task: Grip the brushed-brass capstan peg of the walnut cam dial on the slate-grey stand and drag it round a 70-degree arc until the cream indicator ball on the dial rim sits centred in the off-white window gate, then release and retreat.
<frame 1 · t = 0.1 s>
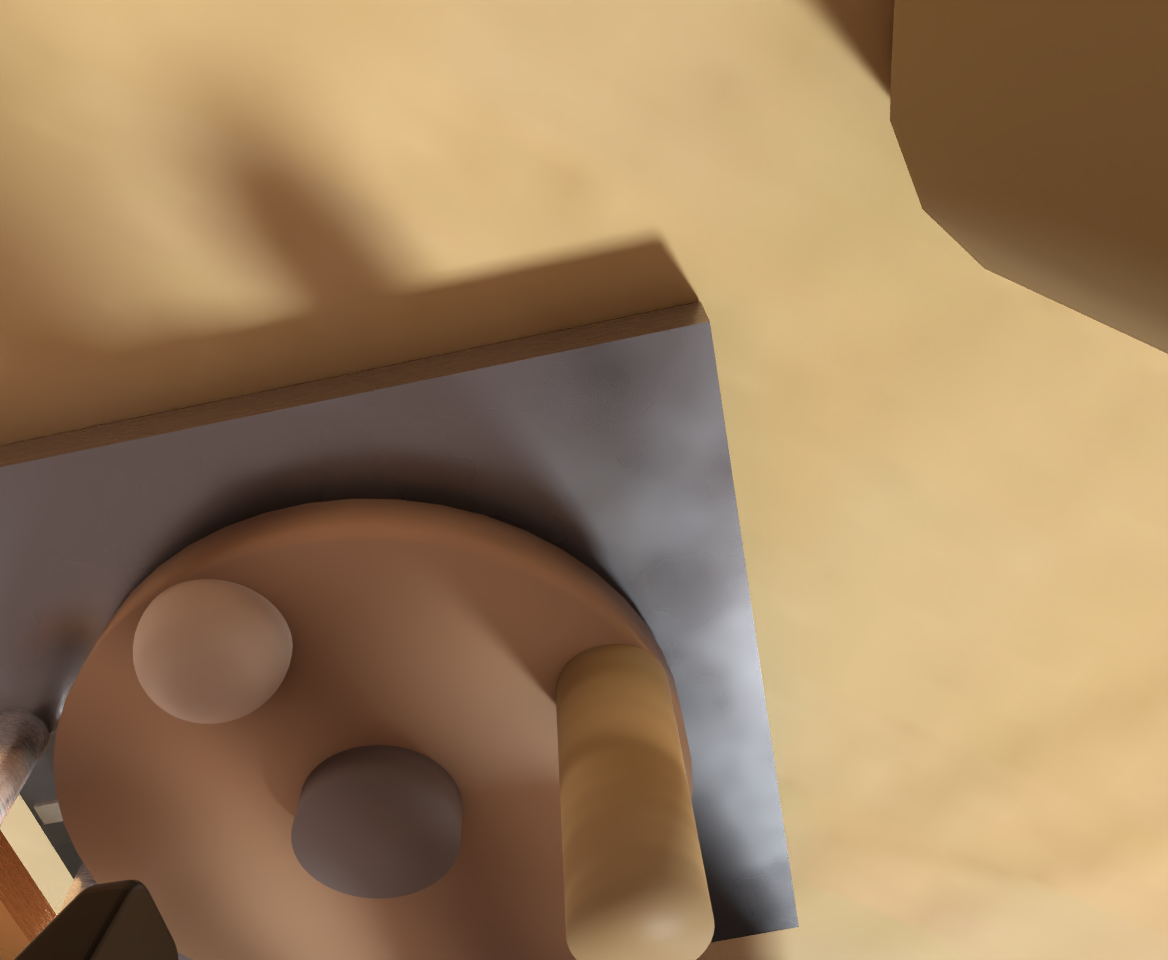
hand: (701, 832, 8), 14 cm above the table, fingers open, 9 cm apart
level stand: (396, 713, 26), on the table
cam dial: (372, 884, 21), point 5 cm above the table, hinge at -70.0°
squeeze bottle: (1040, 17, 19), on the table
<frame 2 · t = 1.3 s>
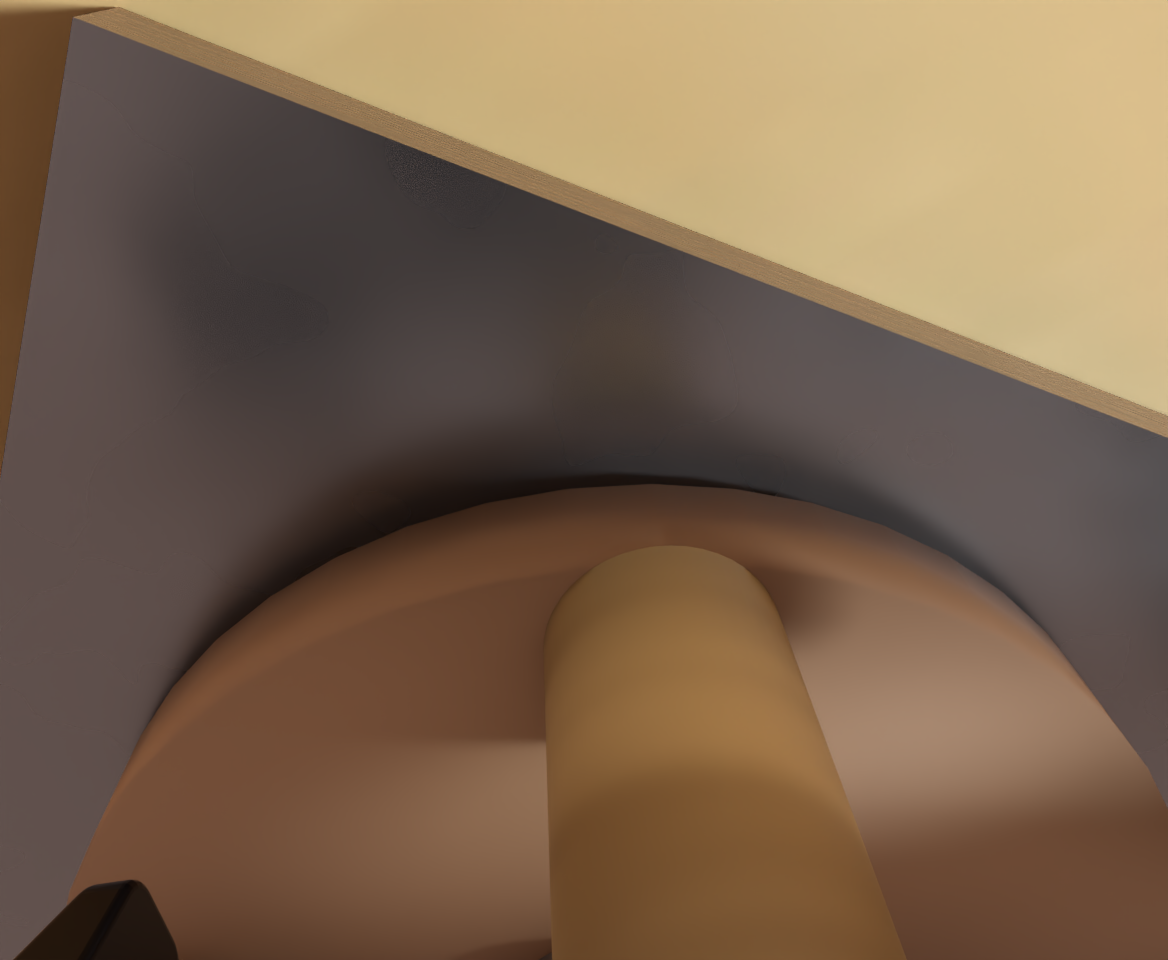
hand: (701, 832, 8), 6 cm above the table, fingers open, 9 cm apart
level stand: (614, 838, 16), on the table
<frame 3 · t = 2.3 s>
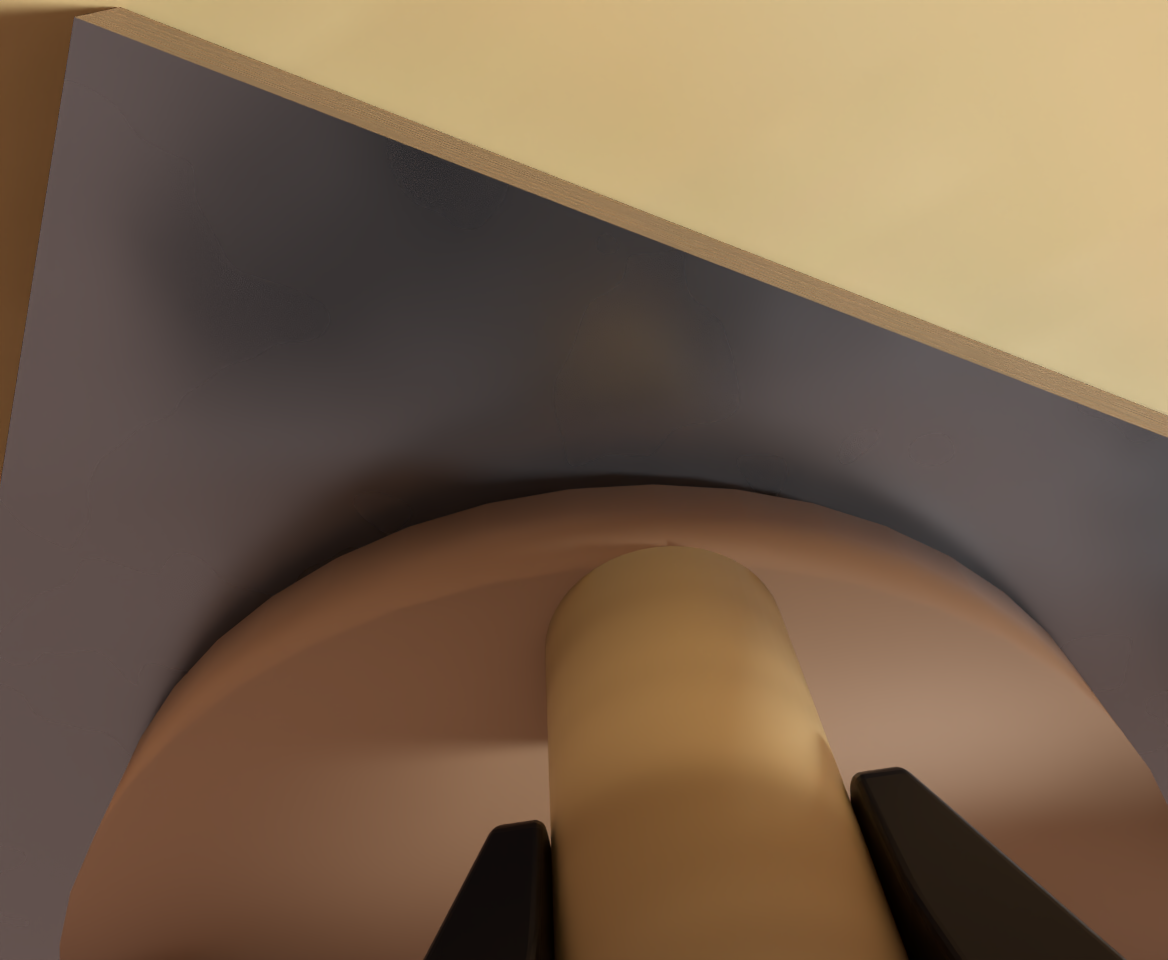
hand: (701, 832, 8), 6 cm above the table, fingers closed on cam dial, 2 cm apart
level stand: (615, 838, 16), on the table
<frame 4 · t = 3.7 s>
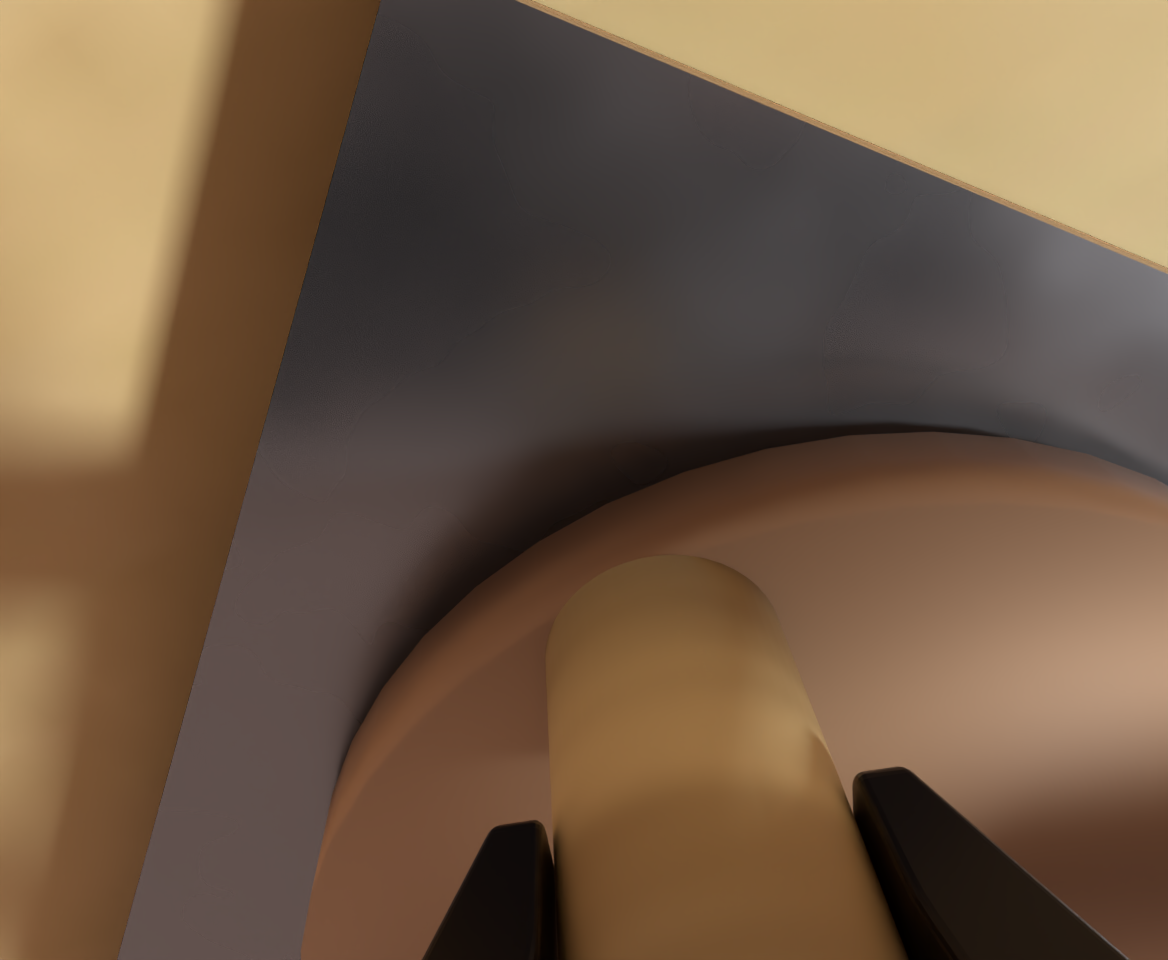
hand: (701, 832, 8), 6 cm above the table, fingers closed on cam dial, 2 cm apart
level stand: (805, 806, 16), on the table
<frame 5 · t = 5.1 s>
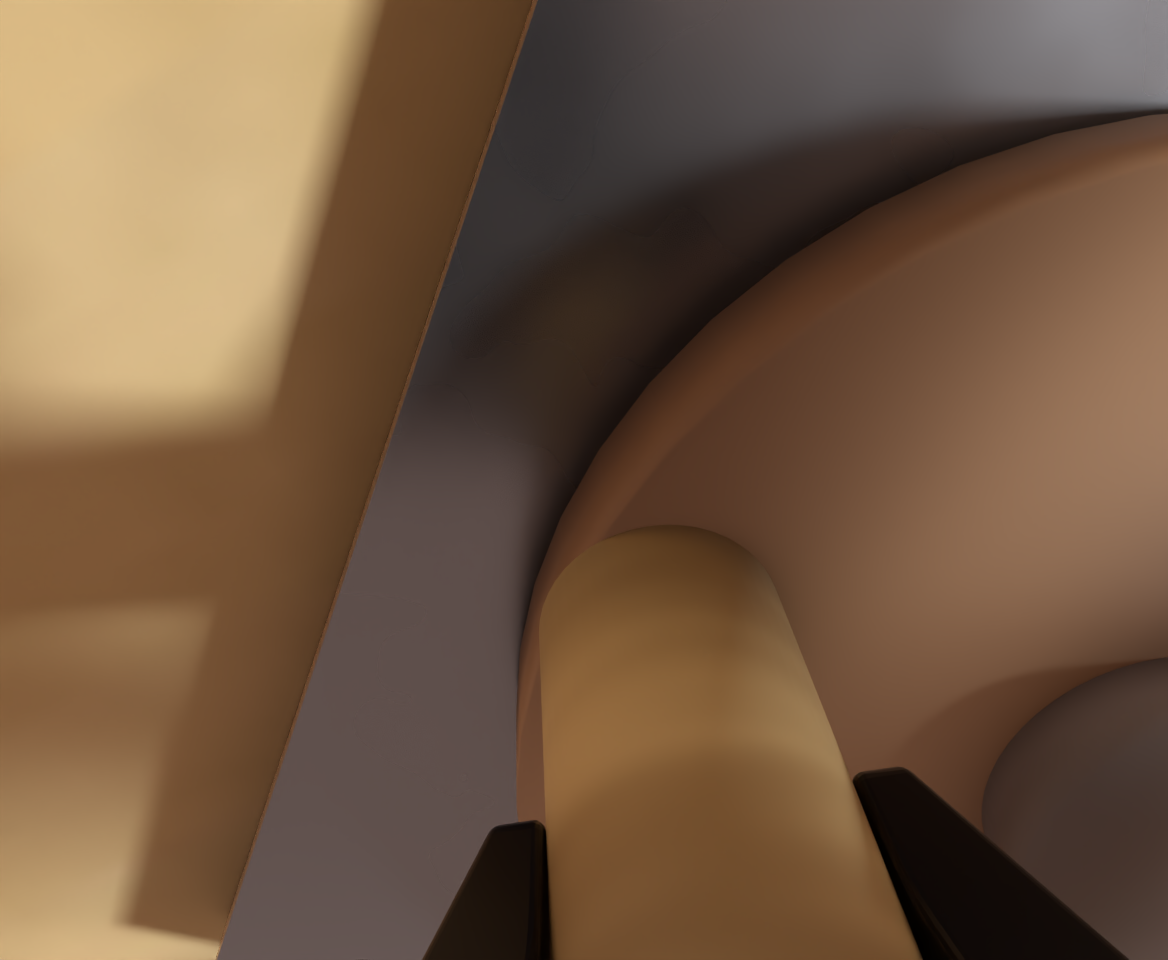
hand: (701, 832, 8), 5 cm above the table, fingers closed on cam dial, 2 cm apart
level stand: (1021, 623, 14), on the table
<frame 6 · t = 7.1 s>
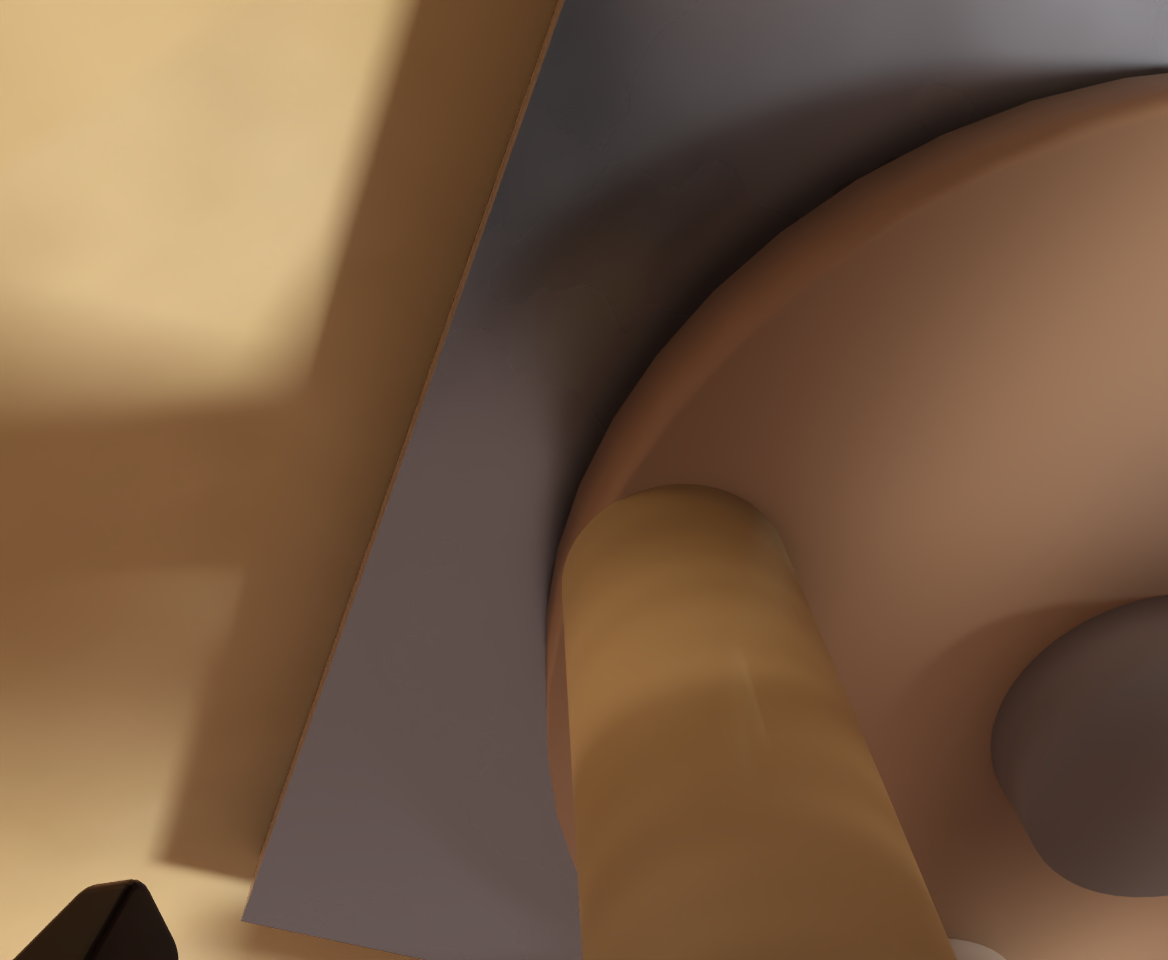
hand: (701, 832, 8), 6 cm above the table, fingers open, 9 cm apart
level stand: (1030, 575, 15), on the table
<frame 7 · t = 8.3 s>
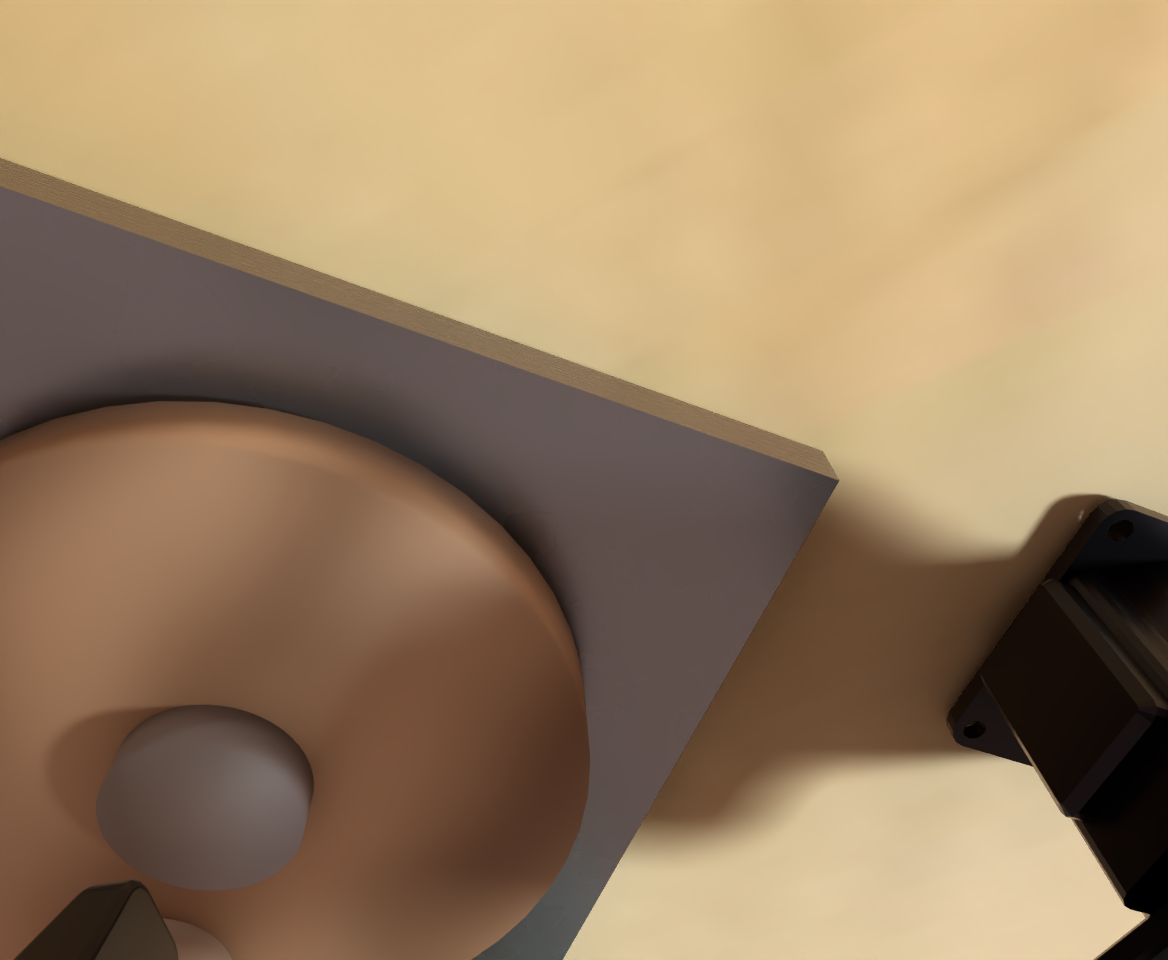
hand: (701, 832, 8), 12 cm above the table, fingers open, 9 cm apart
level stand: (253, 673, 22), on the table
cam dial: (176, 873, 17), point 5 cm above the table, hinge at 0.9°
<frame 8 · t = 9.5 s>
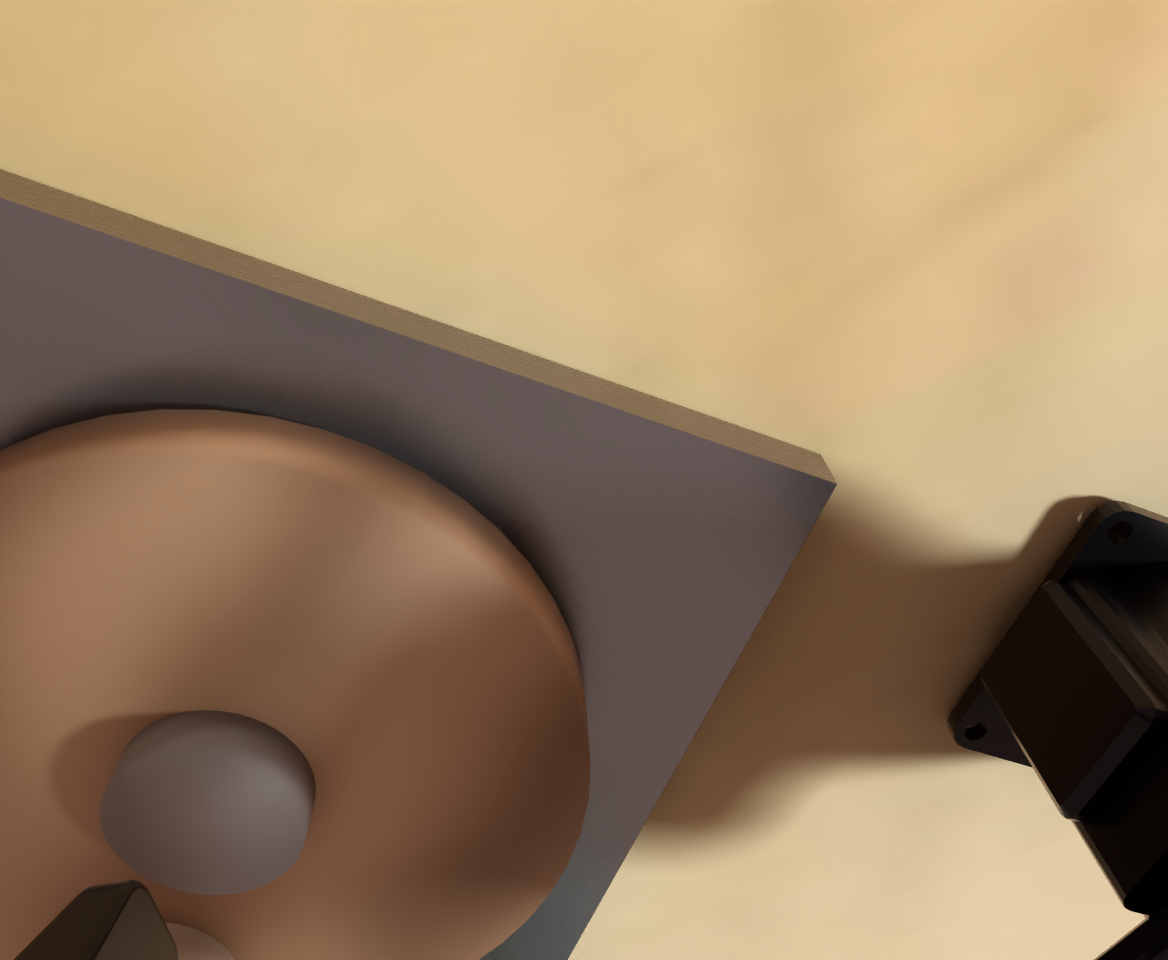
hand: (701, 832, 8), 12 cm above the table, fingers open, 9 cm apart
level stand: (255, 679, 22), on the table
cam dial: (178, 878, 18), point 5 cm above the table, hinge at 0.9°
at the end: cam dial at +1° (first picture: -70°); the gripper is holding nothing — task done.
